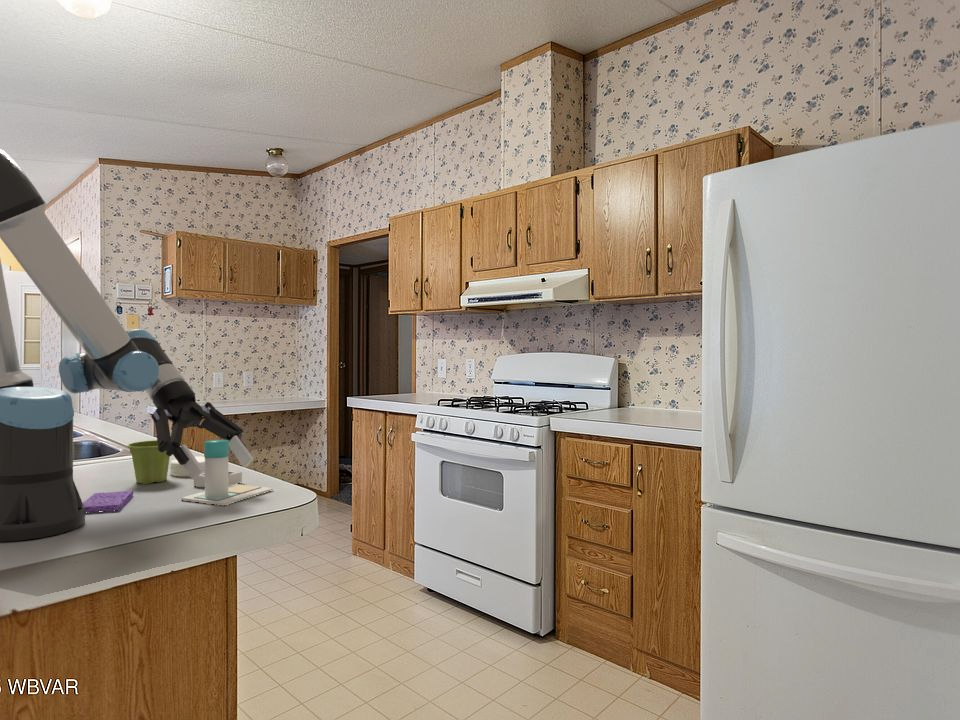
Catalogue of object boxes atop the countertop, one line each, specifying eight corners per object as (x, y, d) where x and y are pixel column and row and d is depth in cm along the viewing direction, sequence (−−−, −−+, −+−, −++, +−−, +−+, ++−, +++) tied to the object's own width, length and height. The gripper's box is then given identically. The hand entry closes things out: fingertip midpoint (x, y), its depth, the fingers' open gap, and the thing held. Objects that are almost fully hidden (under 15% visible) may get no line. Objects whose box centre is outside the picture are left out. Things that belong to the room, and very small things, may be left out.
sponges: (76, 516, 114) (76, 506, 114) (94, 500, 126) (94, 491, 126) (119, 513, 116) (119, 503, 116) (133, 498, 128) (133, 489, 128)
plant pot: (160, 486, 137) (160, 446, 137) (118, 485, 137) (118, 446, 137) (182, 477, 147) (182, 440, 146) (142, 476, 147) (142, 440, 147)
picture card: (224, 506, 120) (224, 502, 120) (181, 500, 124) (181, 497, 124) (272, 490, 134) (272, 487, 134) (232, 486, 137) (232, 483, 137)
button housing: (218, 489, 134) (218, 477, 134) (193, 486, 137) (193, 475, 137) (241, 483, 141) (241, 472, 141) (217, 480, 143) (217, 469, 143)
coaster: (175, 479, 145) (175, 464, 145) (165, 472, 153) (165, 458, 153) (220, 474, 151) (220, 460, 151) (208, 468, 159) (208, 454, 159)
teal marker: (216, 499, 123) (217, 443, 123) (198, 496, 125) (199, 441, 124) (233, 494, 127) (234, 440, 127) (216, 492, 129) (216, 438, 129)
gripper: (205, 399, 143) (257, 469, 138) (104, 408, 120) (162, 493, 115) (223, 376, 141) (277, 447, 136) (124, 381, 118) (184, 467, 113)
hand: (225, 468), depth 125 cm, fingers open, 13 cm apart
